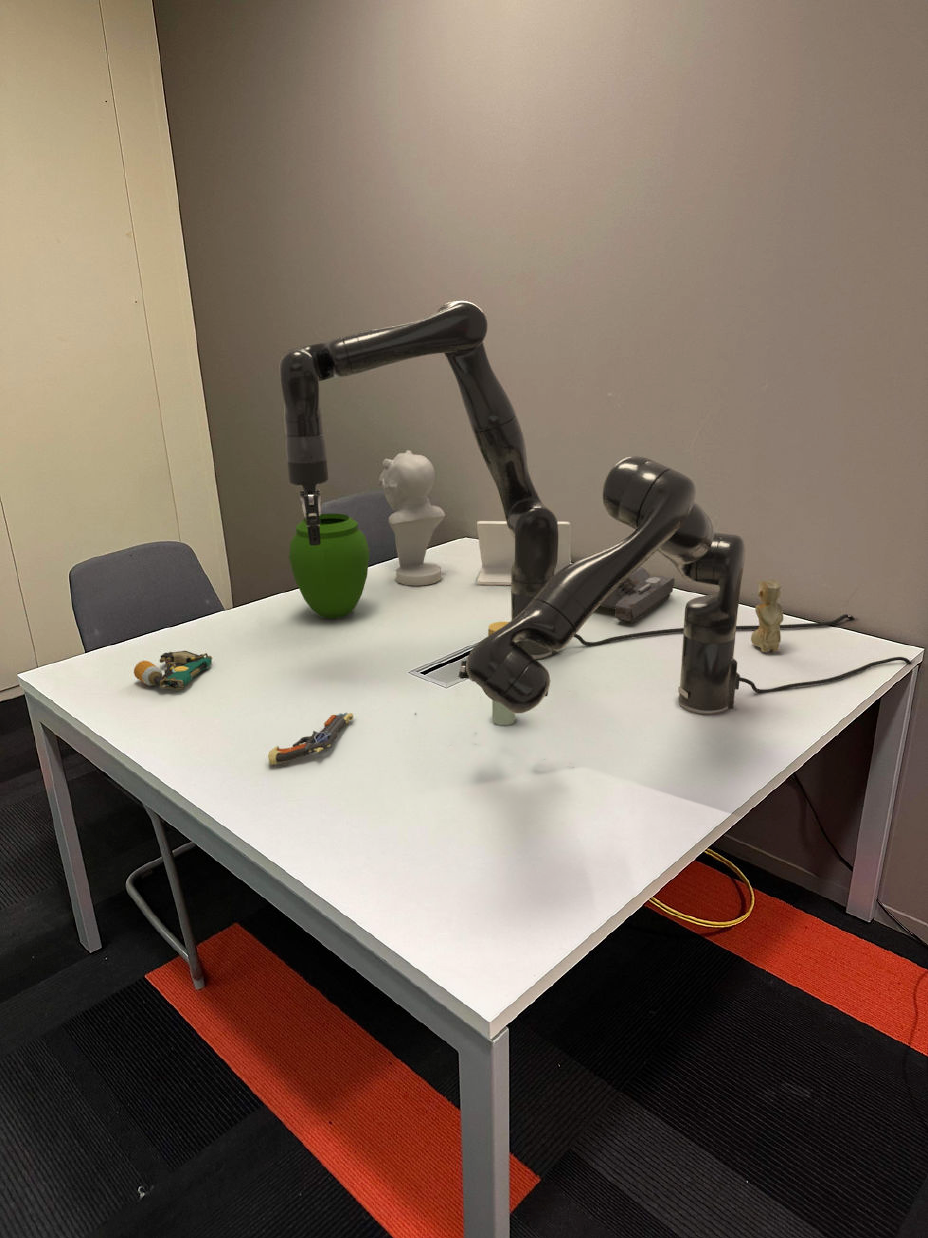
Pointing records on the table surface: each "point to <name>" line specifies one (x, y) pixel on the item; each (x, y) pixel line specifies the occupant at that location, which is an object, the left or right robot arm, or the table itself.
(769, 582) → the sculpture
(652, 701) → the table surface
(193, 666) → the spray gun
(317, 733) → the toy gun
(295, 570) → the vase
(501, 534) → the tablet stand
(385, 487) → the bust sculpture
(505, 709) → the jar
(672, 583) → the toy
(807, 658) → the table surface
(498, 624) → the lid
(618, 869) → the table surface
